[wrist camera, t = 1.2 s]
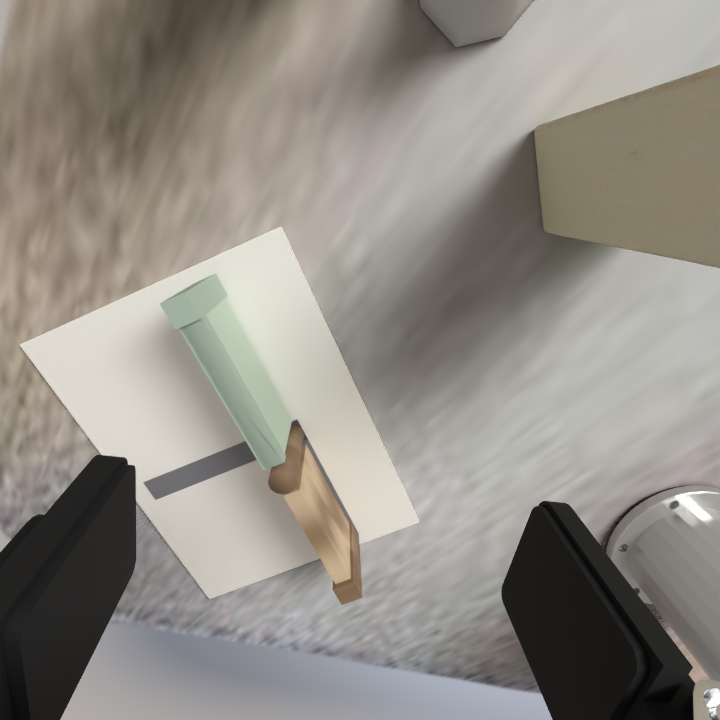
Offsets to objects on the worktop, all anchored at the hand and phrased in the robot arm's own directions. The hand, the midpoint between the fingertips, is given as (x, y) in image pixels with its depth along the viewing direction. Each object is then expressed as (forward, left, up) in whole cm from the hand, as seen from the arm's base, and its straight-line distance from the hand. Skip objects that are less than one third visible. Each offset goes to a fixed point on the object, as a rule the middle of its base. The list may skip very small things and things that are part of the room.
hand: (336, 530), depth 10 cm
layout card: (-6, +11, -22) cm, 25 cm away
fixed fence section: (-13, +7, -22) cm, 26 cm away
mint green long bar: (0, +7, -21) cm, 22 cm away
